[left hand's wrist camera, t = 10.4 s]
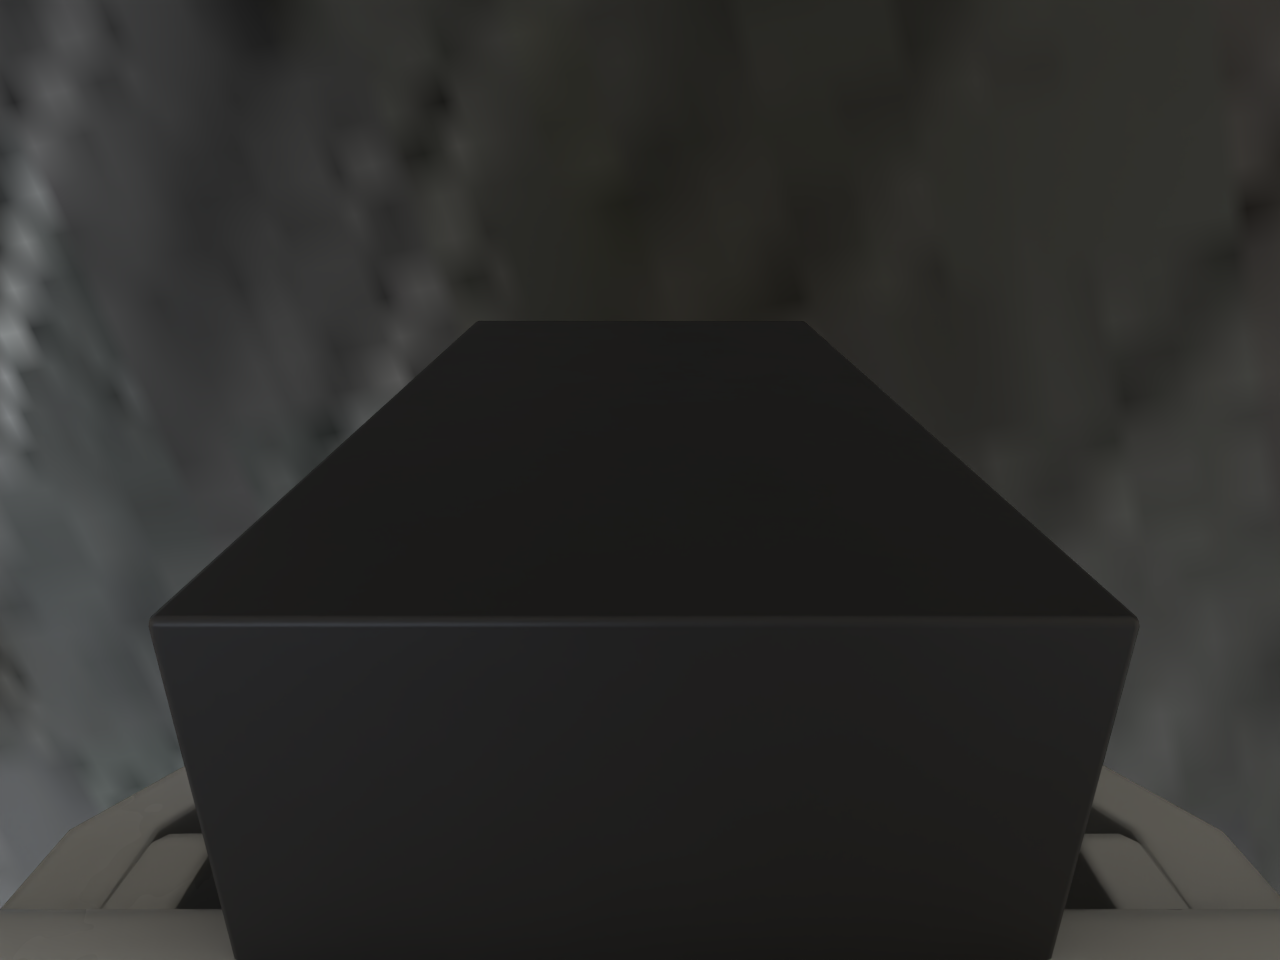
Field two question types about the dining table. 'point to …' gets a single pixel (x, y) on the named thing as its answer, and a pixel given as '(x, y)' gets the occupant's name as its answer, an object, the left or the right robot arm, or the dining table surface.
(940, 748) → the bar
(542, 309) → the dining table surface
